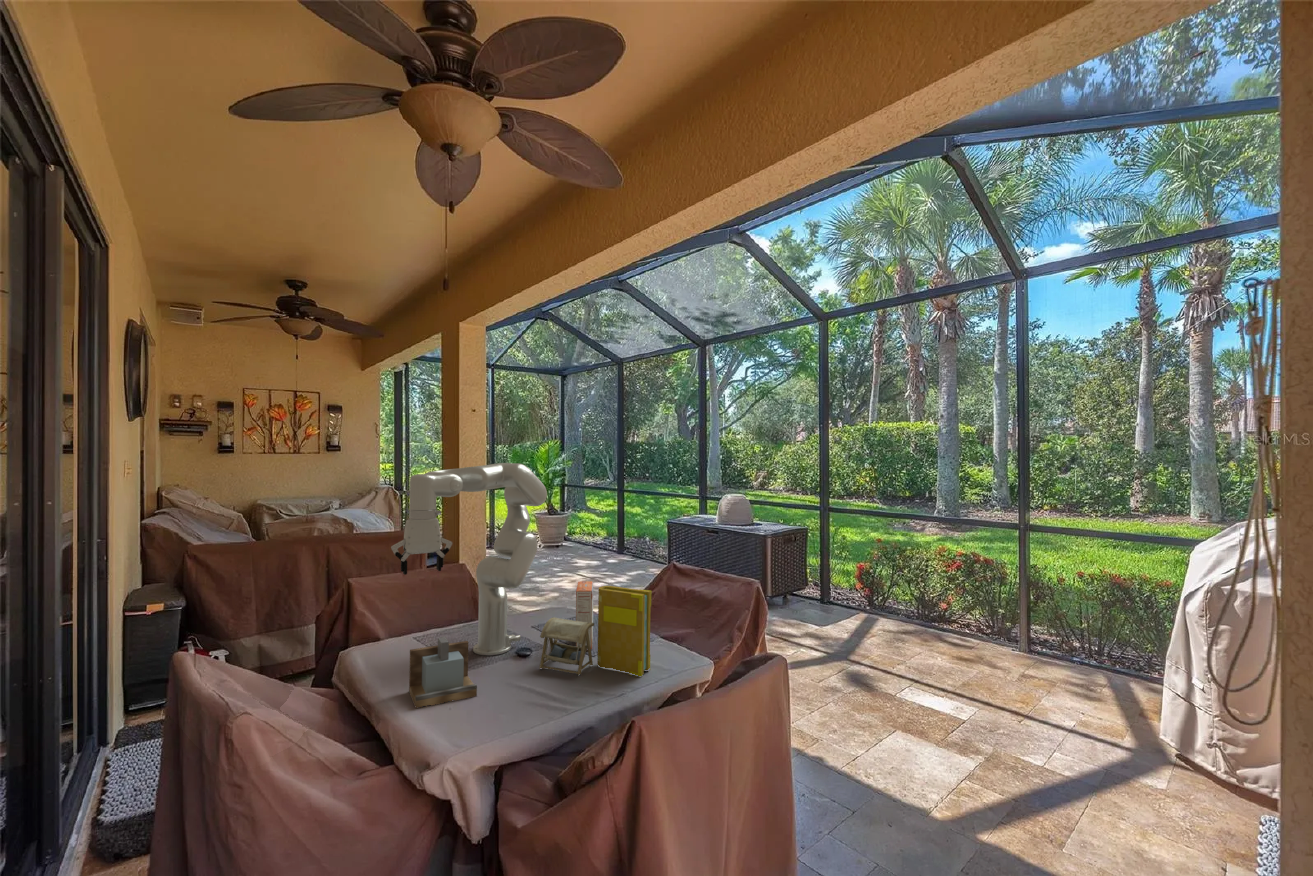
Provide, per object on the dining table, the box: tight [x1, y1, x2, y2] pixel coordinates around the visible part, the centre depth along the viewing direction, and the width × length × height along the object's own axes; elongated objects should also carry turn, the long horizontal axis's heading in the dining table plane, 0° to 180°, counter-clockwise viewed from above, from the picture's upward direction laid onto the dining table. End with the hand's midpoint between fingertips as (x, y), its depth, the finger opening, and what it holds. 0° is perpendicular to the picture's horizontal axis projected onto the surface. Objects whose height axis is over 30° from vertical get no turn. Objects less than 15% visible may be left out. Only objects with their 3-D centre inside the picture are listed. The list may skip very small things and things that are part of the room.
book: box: [596, 585, 652, 677], centre depth 186 cm, size 17×7×25 cm, turn 65°
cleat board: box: [408, 640, 478, 709], centre depth 165 cm, size 16×12×12 cm
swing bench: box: [539, 617, 595, 675], centre depth 186 cm, size 15×10×15 cm, turn 70°
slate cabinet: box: [422, 636, 464, 693], centre depth 166 cm, size 10×7×13 cm
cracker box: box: [575, 580, 594, 650], centre depth 209 cm, size 14×6×21 cm, turn 5°
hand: (422, 572), depth 176 cm, fingers open, 9 cm apart
